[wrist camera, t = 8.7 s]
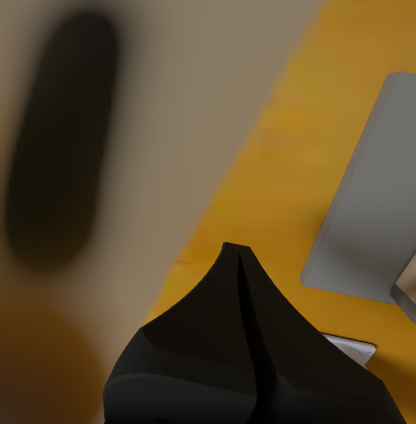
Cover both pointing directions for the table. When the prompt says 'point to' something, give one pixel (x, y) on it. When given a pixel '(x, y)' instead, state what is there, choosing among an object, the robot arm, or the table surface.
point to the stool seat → (373, 204)
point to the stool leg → (406, 290)
